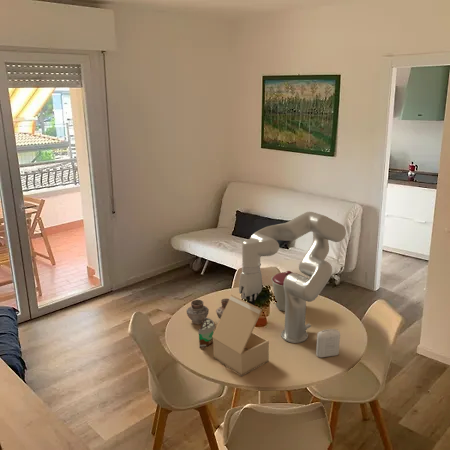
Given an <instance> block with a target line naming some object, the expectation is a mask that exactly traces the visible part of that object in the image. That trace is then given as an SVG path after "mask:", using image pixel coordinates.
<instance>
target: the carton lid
mask: <svg viewBox="0 0 450 450" xmlns="http://www.w3.org/2000/svg"><path fill="white" fill-rule="evenodd" d="M228 299H229V301H228V303H227V305H226V308H225V310H224V312H223V314H222V316H221V318H220V319H219V321H218V323H217V325H216V326H215V329H214V330H213V335H212V337H213V338H215V339H216V340H218V341H220V342H221V343H223V344H225V345H226V346H228V347H230V348H231V349H233V350H235V351H236V352H238V353H240V354H242V353H243V351H244V349H245V347H246V344H247V342H248V340H249V338H250V336H251V334H252V332H254V329H255V326H256V324H257V322H258V320H259V318H260V316H261V314H262V311H263V309H262V308H261V307H259V306H256V305H255V306H254V305H252V304H250V303H248V302H247V300H246V301H245V299H242V298H241V297H237V296H235V295H233V294H231V295H230V296H229V298H228Z"/></svg>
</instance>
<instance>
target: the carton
mask: <svg viewBox="0 0 450 450" xmlns="http://www.w3.org/2000/svg"><path fill="white" fill-rule="evenodd" d="M212 345H213V358H214V359H215V360H216V361H218V362H219V363H221V364H222V365H225V366H226V367H227V368H229V369H231V370H232V371H233V372H235V373H236V374H238V375H240V376H241V377H243V376H244V375H246V374H248V373H249V372H251V371H253V370H256V369H257V368H260V366H263V365H264V364H266V363H268V362H269V361H270V360H269V359H270V358H269V357H270V355H269V353H270V351H269V349H270V341H269V340H268V339H266V338H265V337H263V336H261V335H259V334H257V333H255V332H254V331H252V334H251V336H250V338H249V340H248V342H247V344H246V347H245V349H244V351H243V353H242V354H240V353H238V352H236V351H235V350H233V349H231V348H230V347H228V346H226V345H225V344H223V343H221V342H220V341H218V340H216V339H215V338H213V344H212Z"/></svg>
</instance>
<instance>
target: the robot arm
mask: <svg viewBox="0 0 450 450" xmlns="http://www.w3.org/2000/svg"><path fill="white" fill-rule="evenodd" d="M310 232H311V233H312V243H311V246H310V247H309V248H308V250H307V252H306V253H305V255H304V256H303V257H302V258H301V260H300V262H299V264H298V269H299V272H301V274H300V275H299V273H297V274H296V272H293V273H291V274H289V275H287V276H286V277H285V279H284V291H285V311H284V329H283V330H282V331H281V333H280V335H281V338H282V339H283V340H284V341H286V342H288V343H293V344H299V343H304V342H305V341H307V340H308V337H309V334H308V332H307V330H308V329H309V328H311V326H312V325H311V324H310V323H306V315H307V314H306V313H307V310H306V309H307V302H313V301H315V300H316V299H317V298H318V297H319V295H320V294H321V292H323V290H324V288H325V286H326V285H327V283H328V281H329V280H330V279H331V277H332V273H333V267H332V264H331V263H330V262H328V261H327V260H325V259H326V258H327V256H328V254H329V252H330V242H329V241H331V242H333V243H340V242H342V241H343V240H344V239H345V237H346V233H347V232H346V228H345V226H344V225H343V224H341V223H340V222H337V221H336V220H333V219H332V218H330V217H329V216H326V215H324V214H320V213H317V212H314V211H306V212H304V213H302V214H300V215H298V216H296V217H294V218H293V219H291V220H288V221H287V222H284V223H278V224H272V225H267V226H265V227H263V228H261V229H259V230H257V231H255V232H254V233H252V235H251V236H250V237H249V238H247V239H245V240H243V242H242V244H241V245H242V246H241V247H242V248H241V249H242V253H241V256H242V257H241V258H242V262H241V266H242V268H241V269H242V270H241V272H240V274H239V282H238V293H239V294H240V299H242V300H246V302H248V303H250V304H252V305H254V306H256V300H257V297H258V295H259V294H260V293H262V290H263V274H262V270H261V266H262V263H261V257H270V256H274V255H276V254H277V253H278V252H279V249H280V244H279V242H278V241H287V242H288V241H297V240H298V239H299V238H301V237H303V236H305V235H306V234H308V233H310ZM303 275H306V276H308V277H309V278H308V277H305V276H303Z"/></svg>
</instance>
